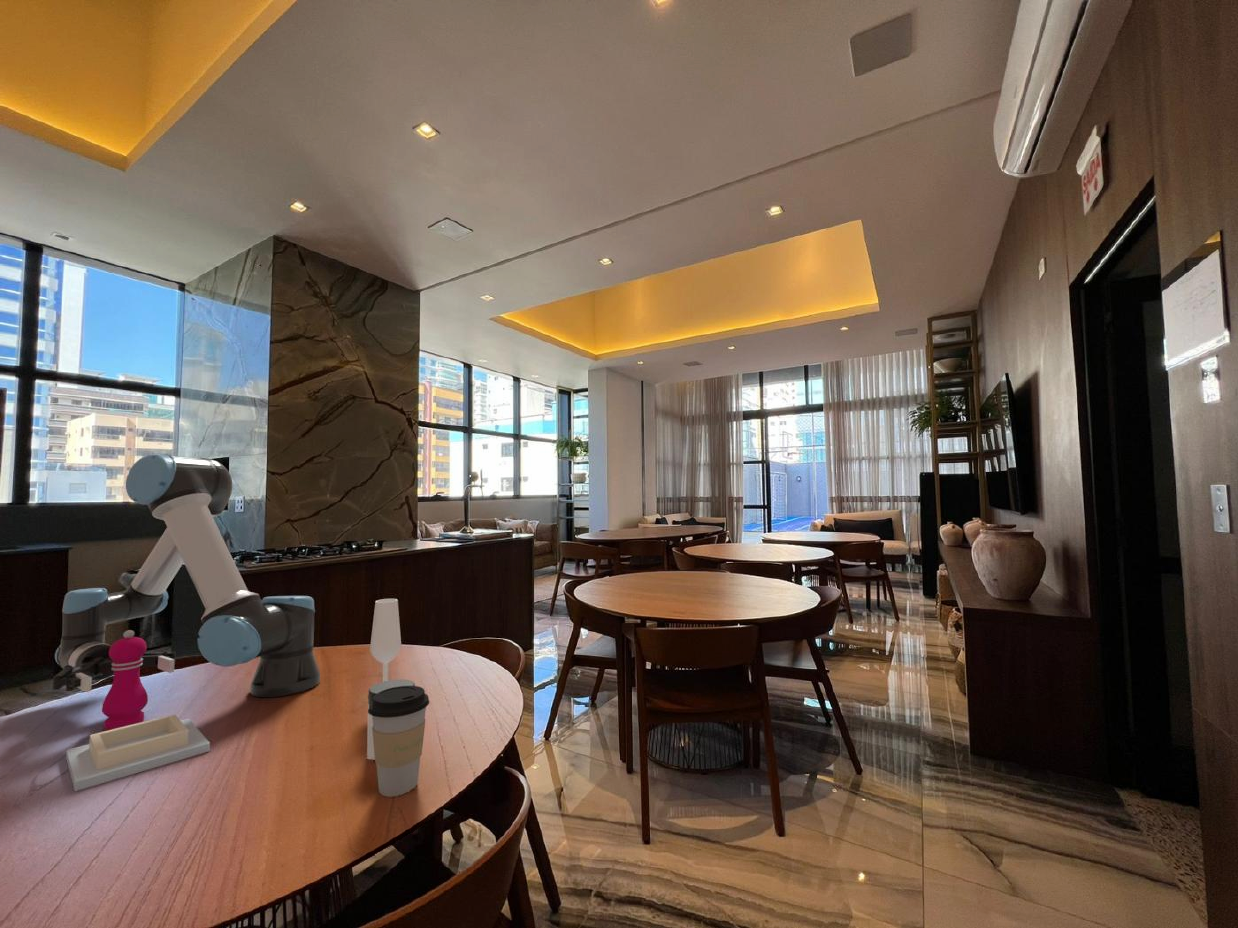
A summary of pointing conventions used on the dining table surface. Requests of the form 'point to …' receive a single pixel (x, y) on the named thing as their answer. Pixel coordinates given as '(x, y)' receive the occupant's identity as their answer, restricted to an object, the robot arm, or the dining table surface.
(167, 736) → the board
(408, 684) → the jar
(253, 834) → the dining table surface
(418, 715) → the coffee cup
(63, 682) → the robot arm
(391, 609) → the champagne flute
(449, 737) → the dining table surface
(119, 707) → the pepper mill
